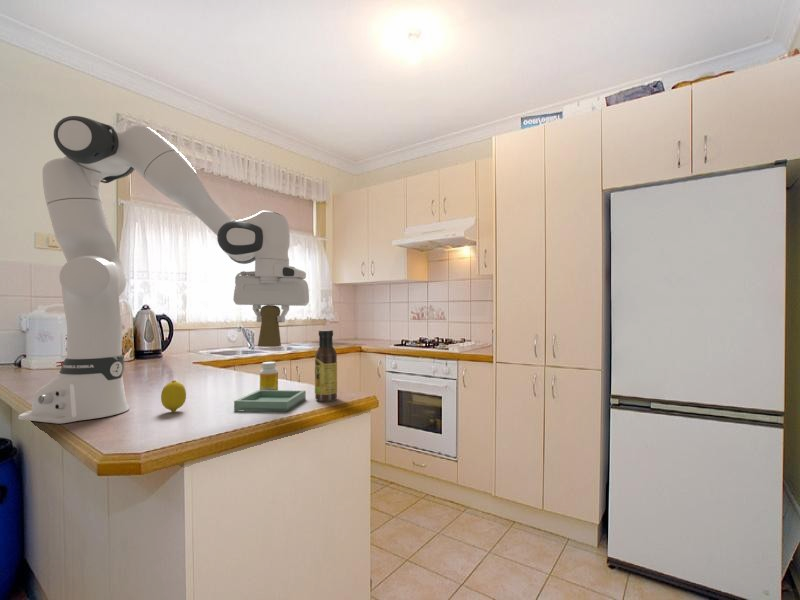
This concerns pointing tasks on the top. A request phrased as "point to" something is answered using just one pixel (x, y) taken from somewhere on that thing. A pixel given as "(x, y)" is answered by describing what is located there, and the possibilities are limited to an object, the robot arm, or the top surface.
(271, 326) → the cork
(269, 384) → the supplement bottle
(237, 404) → the tray
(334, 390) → the sauce bottle
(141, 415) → the top surface
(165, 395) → the lemon
